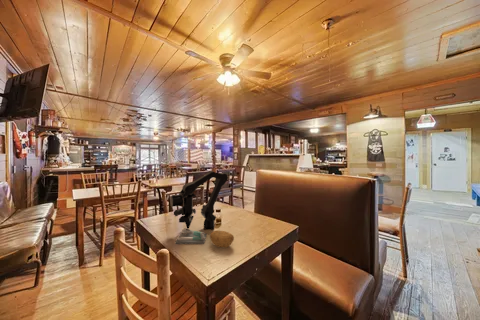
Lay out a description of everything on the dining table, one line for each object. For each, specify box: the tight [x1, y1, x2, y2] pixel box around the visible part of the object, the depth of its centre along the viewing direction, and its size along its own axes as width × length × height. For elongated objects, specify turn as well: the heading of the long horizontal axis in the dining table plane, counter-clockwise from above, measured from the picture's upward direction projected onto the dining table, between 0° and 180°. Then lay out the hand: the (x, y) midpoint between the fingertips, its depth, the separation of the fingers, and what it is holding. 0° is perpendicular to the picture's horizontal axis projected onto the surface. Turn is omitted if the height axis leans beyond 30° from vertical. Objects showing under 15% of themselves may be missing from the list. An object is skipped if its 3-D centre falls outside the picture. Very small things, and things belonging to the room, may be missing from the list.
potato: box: [209, 230, 235, 249], centre depth 102 cm, size 10×14×8 cm
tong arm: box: [181, 227, 206, 237], centre depth 110 cm, size 16×2×2 cm, turn 66°
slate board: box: [174, 233, 208, 245], centre depth 109 cm, size 16×11×2 cm
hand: (188, 228), depth 118 cm, fingers closed
